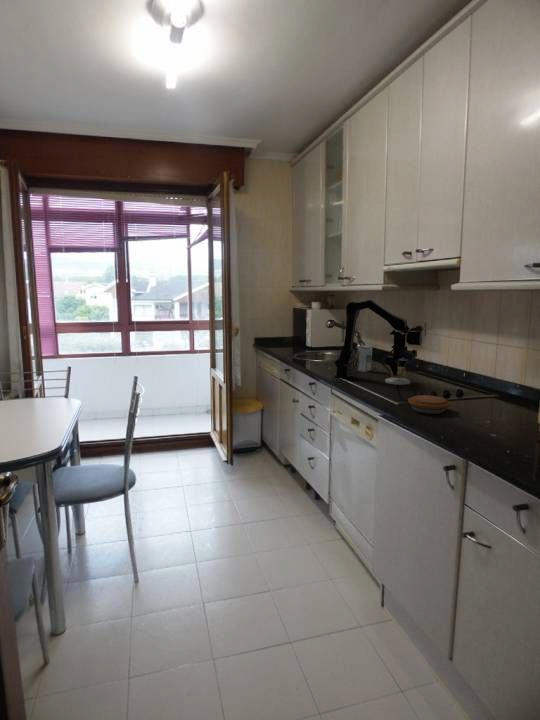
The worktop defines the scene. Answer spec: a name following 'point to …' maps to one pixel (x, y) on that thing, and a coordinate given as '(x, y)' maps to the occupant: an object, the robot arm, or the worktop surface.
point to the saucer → (397, 381)
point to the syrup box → (364, 358)
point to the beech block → (399, 373)
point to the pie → (428, 404)
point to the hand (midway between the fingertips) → (397, 375)
